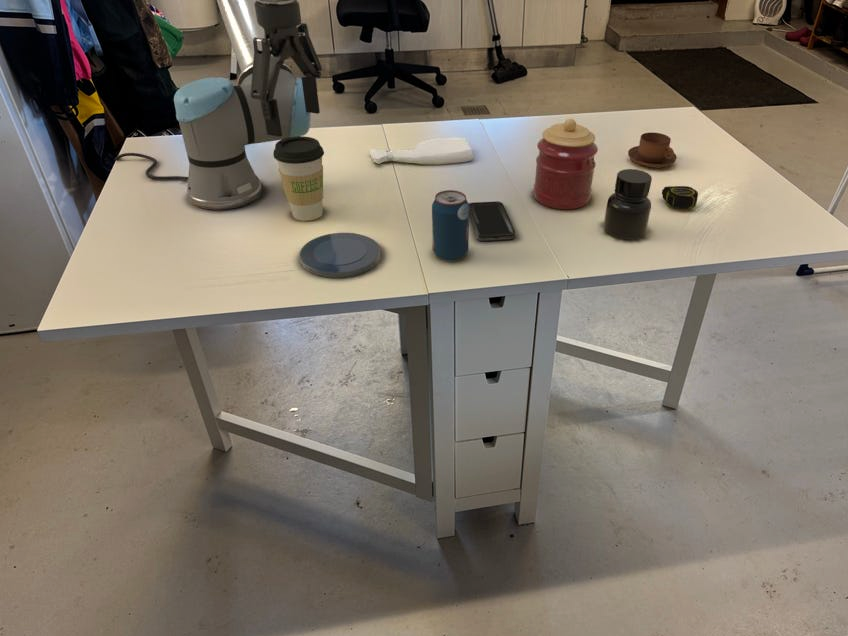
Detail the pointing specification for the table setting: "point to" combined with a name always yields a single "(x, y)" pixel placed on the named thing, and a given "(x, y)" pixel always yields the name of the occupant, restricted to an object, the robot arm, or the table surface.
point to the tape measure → (680, 196)
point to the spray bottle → (429, 152)
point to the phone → (490, 221)
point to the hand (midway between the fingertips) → (294, 123)
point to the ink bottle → (629, 205)
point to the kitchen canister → (565, 166)
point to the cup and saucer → (653, 151)
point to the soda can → (450, 225)
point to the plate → (340, 255)
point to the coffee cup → (301, 175)
